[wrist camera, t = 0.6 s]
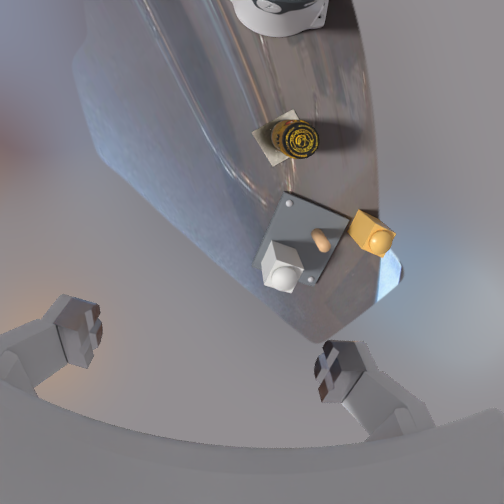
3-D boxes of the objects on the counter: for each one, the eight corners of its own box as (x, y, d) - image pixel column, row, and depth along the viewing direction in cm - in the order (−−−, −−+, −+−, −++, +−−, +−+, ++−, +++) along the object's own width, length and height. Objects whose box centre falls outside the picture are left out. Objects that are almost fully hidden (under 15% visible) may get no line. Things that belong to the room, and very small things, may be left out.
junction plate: (283, 191, 51) (293, 207, 42) (347, 218, 54) (367, 238, 45) (251, 263, 58) (253, 292, 48) (312, 283, 60) (323, 312, 51)
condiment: (313, 144, 48) (333, 151, 37) (272, 166, 49) (282, 179, 39) (292, 109, 45) (308, 105, 34) (251, 132, 46) (254, 135, 36)
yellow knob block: (358, 209, 53) (377, 225, 45) (378, 218, 54) (398, 235, 46) (347, 231, 55) (363, 251, 47) (366, 240, 56) (385, 260, 48)
